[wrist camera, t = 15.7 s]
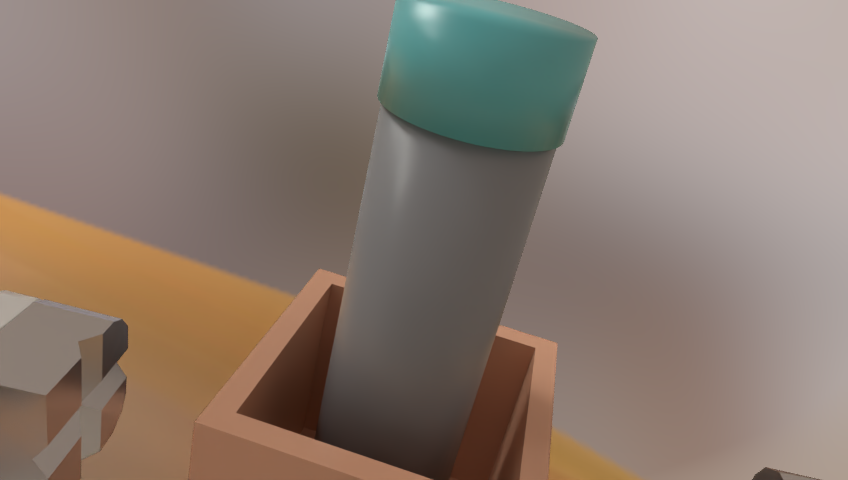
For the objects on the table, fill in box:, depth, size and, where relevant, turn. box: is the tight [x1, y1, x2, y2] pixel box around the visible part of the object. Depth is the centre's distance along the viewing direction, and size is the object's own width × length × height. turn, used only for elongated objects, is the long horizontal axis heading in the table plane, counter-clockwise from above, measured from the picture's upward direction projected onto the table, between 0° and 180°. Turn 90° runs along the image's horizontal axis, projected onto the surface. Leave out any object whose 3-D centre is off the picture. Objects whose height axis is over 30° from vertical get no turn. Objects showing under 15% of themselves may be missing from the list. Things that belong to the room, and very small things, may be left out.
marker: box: [315, 0, 598, 480], centre depth 16 cm, size 4×4×14 cm
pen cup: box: [188, 269, 557, 480], centre depth 18 cm, size 7×7×6 cm
